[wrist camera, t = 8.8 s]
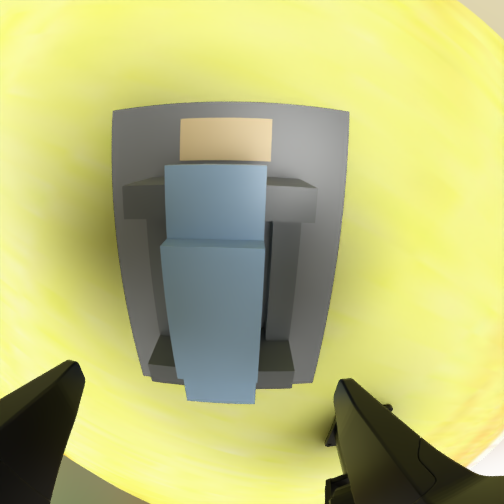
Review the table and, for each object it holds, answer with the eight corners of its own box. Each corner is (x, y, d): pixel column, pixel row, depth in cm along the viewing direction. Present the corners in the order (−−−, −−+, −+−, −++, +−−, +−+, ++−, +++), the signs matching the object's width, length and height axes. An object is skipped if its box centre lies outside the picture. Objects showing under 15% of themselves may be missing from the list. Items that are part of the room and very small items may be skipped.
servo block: (253, 352, 19) (255, 416, 14) (198, 349, 19) (184, 412, 14) (261, 162, 15) (269, 167, 9) (189, 161, 15) (156, 166, 9)
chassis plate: (310, 376, 22) (322, 423, 17) (146, 369, 21) (128, 414, 16) (344, 113, 15) (382, 100, 10) (118, 112, 14) (73, 101, 10)
